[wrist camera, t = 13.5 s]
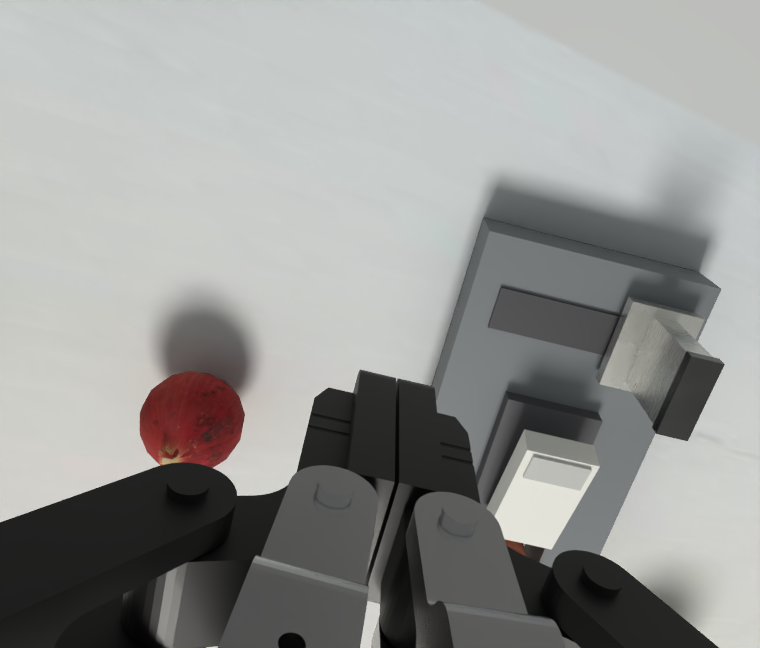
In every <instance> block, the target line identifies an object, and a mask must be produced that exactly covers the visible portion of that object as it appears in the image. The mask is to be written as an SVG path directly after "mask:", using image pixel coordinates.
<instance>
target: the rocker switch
mask: <svg viewBox="0 0 760 648" xmlns="http://www.w3.org/2000/svg"><path fill="white" fill-rule="evenodd" d="M599 468H600V465H599V461H598V457H597V453H596V449H595V446H594V445H590V444H586V443H581V442H577V441H573V440H568V439H564V438H560V437H555V436H551V435H547V434H543V433H538V432H534V431H530V430H525V429H524V431H523V433H522V435H521V437H520V439H519V441H518V444H517V446H516V448H515V450H514V452H513V454H512V456H511V458H510V460H509V462H508V464H507V466H506V469H505V471H504V473H503V475H502V477H501V479H500V481H499V483H498V485H497V487H496V489H495V492H494V494H493V496H492V498H491V500H490V502H489V504H488V506H487V508H486V509H488V510H489V511H490V512H491V513H492V514H493V515H494V517H495V518H496V519H497V521H498V522H499V525H500V527H501V530H502V533H503V536H504V539H506V540H510V541H515V542H519V543H524V544H528V545H533V546H537V547H542V548H546V549H551V550H552V548H553V546H554V544H555V543H556V541H557V539H558V538H559V536H560V534H561V532H562V531H563V529H564V527H565V526H566V524H567V522H568V521H569V519H570V517H571V515H572V514H573V512H574V510H575V509H576V507H577V505H578V503H579V502H580V500H581V498H582V497H583V495H584V493H585V492H586V490H587V488H588V486H589V485H590V483H591V481H592V480H593V478H594V476H595V474H596V473H597V471H598V469H599Z"/></svg>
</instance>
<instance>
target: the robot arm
mask: <svg viewBox="0 0 760 648" xmlns="http://www.w3.org/2000/svg"><path fill="white" fill-rule="evenodd" d="M470 451H471V447H470V441H469V435H468V432H467V431H466V430H465V429H464V427H463V426H462V425H461V423H460V422H459V421H458V420H457V418H456V417H454V416H449V415H445V414H441V413H437V405H436V395H435V388H434V387H432V386H428V385H424V384H419V383H415V382H411V381H407V380H402V379H398V380H397V382H396V378H393V377H389V376H385V375H381V374H376V373H372V372H368V371H363V370H360V371H359V373H358V377H357V380H356V384H355V388H354V392H353V393H350V392H345V391H341V390H337V389H332V388H327V389H326V390H325V391H323V392H322V393H321V394H319V395H318V396H317V397H315V399H314V403H313V407H312V411H311V415H310V419H309V424H308V428H307V432H306V436H305V440H304V444H303V448H302V453H301V457H300V461H299V465H298V469H297V473H295V474H294V476H293V477H292V478H291V480H290V482H289V485H288V486H286V487H285V488H283V489H281V490H279V491H276V492H273V493H270V494H265V495H257V496H237V491H236V489H235V486H234V485H233V483H232V482H231V480H230V479H229V478H228V477H227V476H225V475H224V474H222V473H221V472H219V471H217V470H215V469H213V468H211V467H208V466H205V465H201V464H195V463H185V462H180V463H170V464H165V465H161V466H158V467H155V468H152V469H149V470H147V471H144V472H141V473H138V474H135V475H132V476H130V477H127V478H124V479H121V480H118V481H116V482H113V483H110V484H107V485H104V486H102V487H99V488H96V489H93V490H90V491H88V492H85V493H82V494H79V495H76V496H73V497H71V498H68V499H65V500H62V501H59V502H57V503H54V504H51V505H48V506H45V507H43V508H40V509H37V510H34V511H31V512H29V513H26V514H23V515H20V516H17V517H14V518H12V519H9V520H6V521H3V522H0V648H206V647H212V646H218V648H360V644H361V637H362V631H363V625H364V619H365V612H366V606H367V601H372V602H376V603H380V616H379V619H378V622H377V625H376V628H375V631H374V634H373V638H372V645H371V647H372V648H719V647H717V646H716V645H715V644H714V643H713V642H711V641H710V640H709V639H708V638H706V637H705V636H704V635H703V634H702V633H700V632H699V631H698V630H697V629H696V628H694V627H693V626H692V625H691V624H690V623H688V622H687V621H686V620H685V619H684V618H682V617H681V616H680V615H679V614H678V613H676V612H675V611H674V610H673V609H672V608H670V607H669V606H668V605H667V604H665V603H664V602H663V601H662V600H661V599H659V598H658V597H657V596H656V595H655V594H653V593H652V592H651V591H650V590H649V589H647V588H646V587H645V586H644V585H643V584H641V583H640V582H639V581H638V580H637V579H635V578H634V577H633V576H632V575H631V574H629V573H628V572H627V571H626V570H624V569H623V568H622V567H620V566H619V565H617V564H616V563H614V562H613V561H611V560H609V559H607V558H605V557H603V556H600V555H598V554H595V553H591V552H588V551H582V550H568V551H565V552H562V553H560V554H559V555H558V556H557V557H556V558H555V560H554V562H553V564H552V566H551V567H548V566H546V565H544V564H542V563H540V562H537V561H535V560H533V559H531V558H529V557H526V556H524V555H522V554H520V553H518V552H516V551H515V550H513V549H511V548H510V547H508V546H507V545H506V543H505V539H504V536H503V533H502V530H501V527H500V525H499V522H498V521H497V519H496V518H495V517H494V515H493V514H492V513H491V512H490V511H489V510H488V509H486V508H485V507H484V506H482V505H481V504H480V498H479V492H478V487H477V481H476V475H475V469H474V466H473V458H472V452H470Z"/></svg>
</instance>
